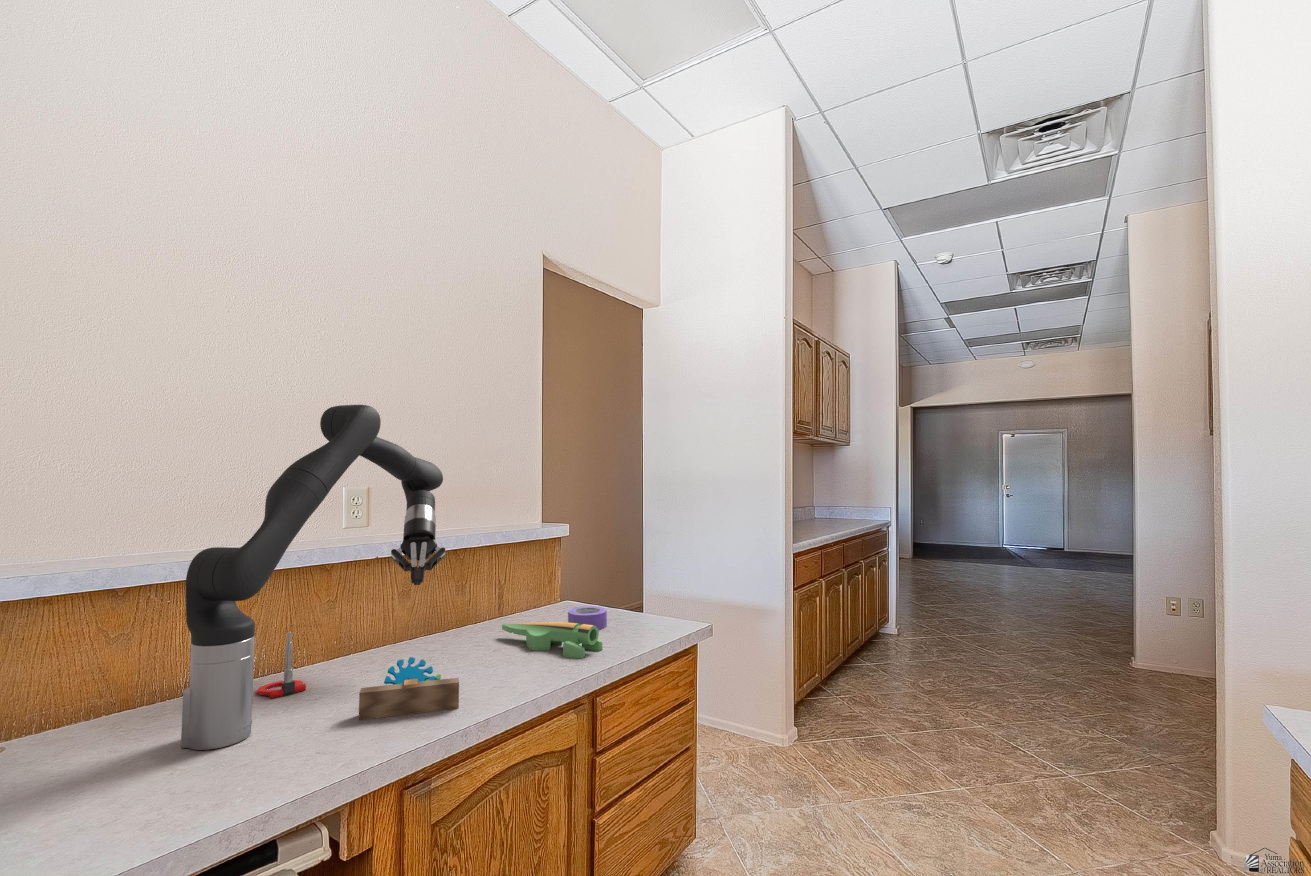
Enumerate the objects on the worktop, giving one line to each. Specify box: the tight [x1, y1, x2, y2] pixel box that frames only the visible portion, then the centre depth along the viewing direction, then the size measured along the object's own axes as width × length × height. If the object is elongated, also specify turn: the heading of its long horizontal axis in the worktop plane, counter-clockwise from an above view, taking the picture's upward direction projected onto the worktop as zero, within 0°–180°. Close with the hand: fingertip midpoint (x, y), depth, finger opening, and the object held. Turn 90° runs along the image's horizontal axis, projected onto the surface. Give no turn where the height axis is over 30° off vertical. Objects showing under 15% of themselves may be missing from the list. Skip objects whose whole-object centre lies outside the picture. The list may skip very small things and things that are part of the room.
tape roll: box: [567, 605, 608, 631], centre depth 188 cm, size 12×12×5 cm
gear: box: [383, 656, 442, 685], centre depth 129 cm, size 11×6×10 cm
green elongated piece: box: [501, 621, 603, 659], centre depth 168 cm, size 32×10×7 cm, turn 59°
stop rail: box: [358, 677, 460, 721], centre depth 121 cm, size 18×3×6 cm, turn 109°
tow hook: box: [256, 631, 307, 699], centre depth 133 cm, size 8×13×9 cm
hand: (417, 583), depth 145 cm, fingers closed
